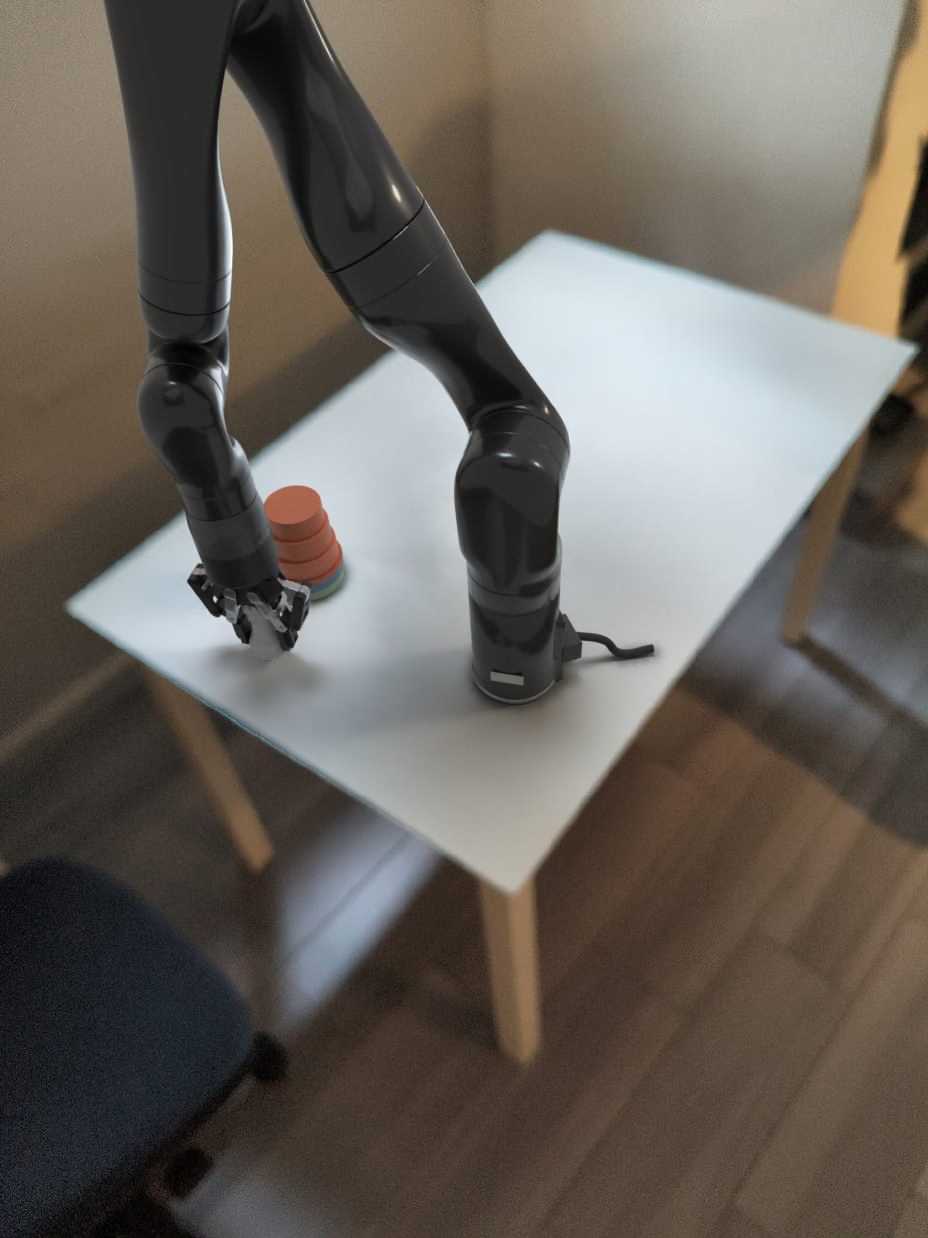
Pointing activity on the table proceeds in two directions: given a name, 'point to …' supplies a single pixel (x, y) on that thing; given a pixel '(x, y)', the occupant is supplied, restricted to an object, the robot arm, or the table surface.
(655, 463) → the table surface
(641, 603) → the table surface
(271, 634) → the rook chess piece
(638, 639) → the table surface
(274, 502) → the cup stack
